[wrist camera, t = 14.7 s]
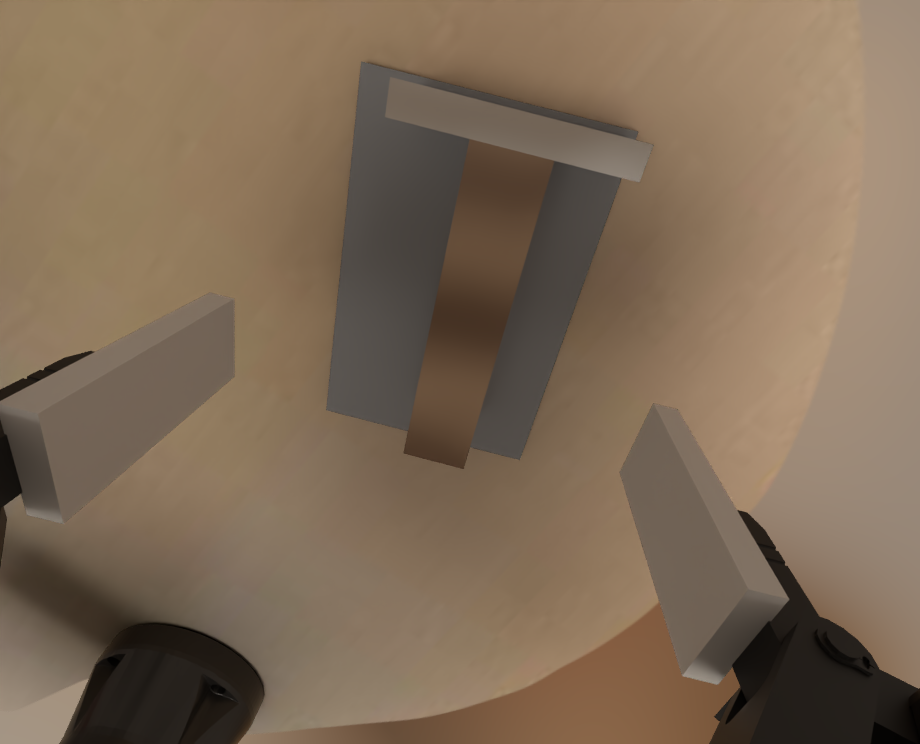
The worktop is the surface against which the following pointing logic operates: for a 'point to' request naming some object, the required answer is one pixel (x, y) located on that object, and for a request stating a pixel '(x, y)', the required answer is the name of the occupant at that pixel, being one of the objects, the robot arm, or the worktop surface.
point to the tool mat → (421, 261)
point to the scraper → (488, 245)
